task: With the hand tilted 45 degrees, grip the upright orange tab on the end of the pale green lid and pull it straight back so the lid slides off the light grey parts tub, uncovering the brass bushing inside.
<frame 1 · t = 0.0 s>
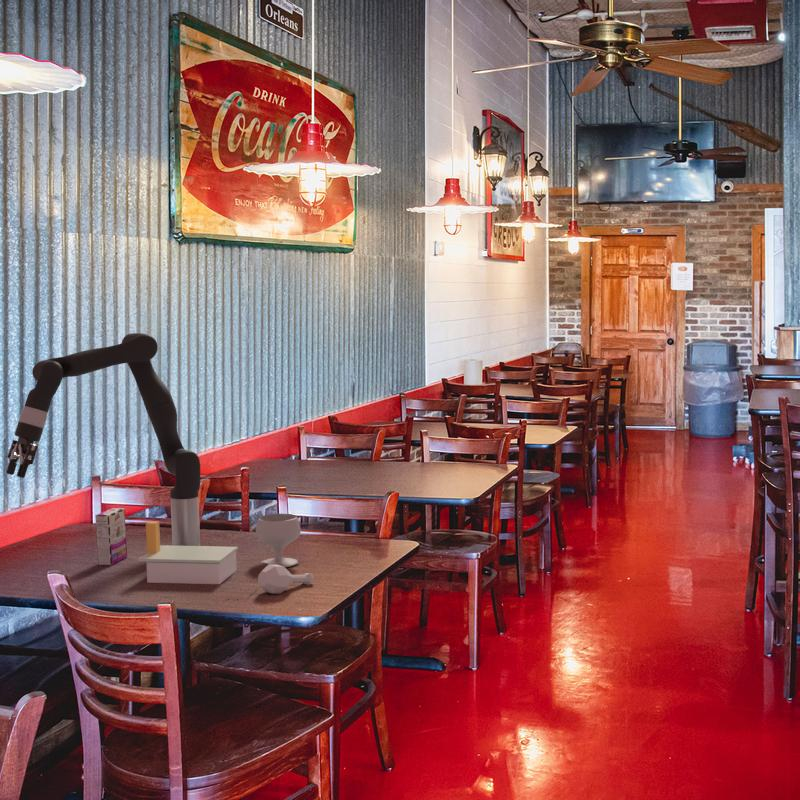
hand: (14, 475, 311), 31 cm above the table, tool tilted 20°, fingers open, 8 cm apart
tub: (193, 579, 309), on the table
chicken leg: (287, 590, 296), on the table
bushing: (200, 578, 306), point 1 cm above the table, touching tub
candy bar box: (112, 562, 333), on the table
lid: (188, 539, 308), point 12 cm above the table, slide at 0.0 cm
chalice: (279, 564, 325), on the table
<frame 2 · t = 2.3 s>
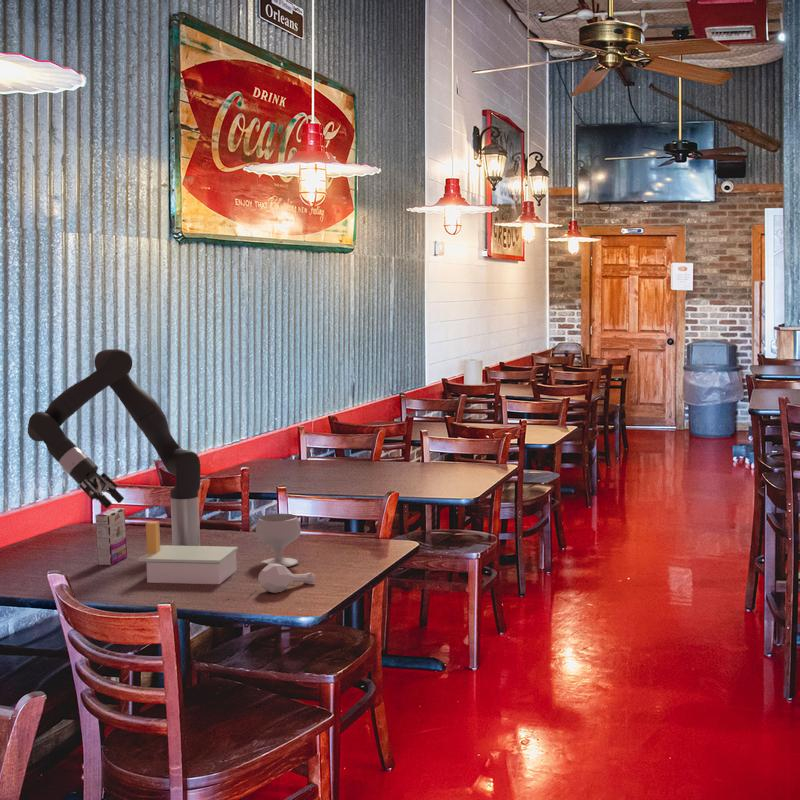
hand: (115, 503, 310), 23 cm above the table, tool tilted 45°, fingers open, 8 cm apart
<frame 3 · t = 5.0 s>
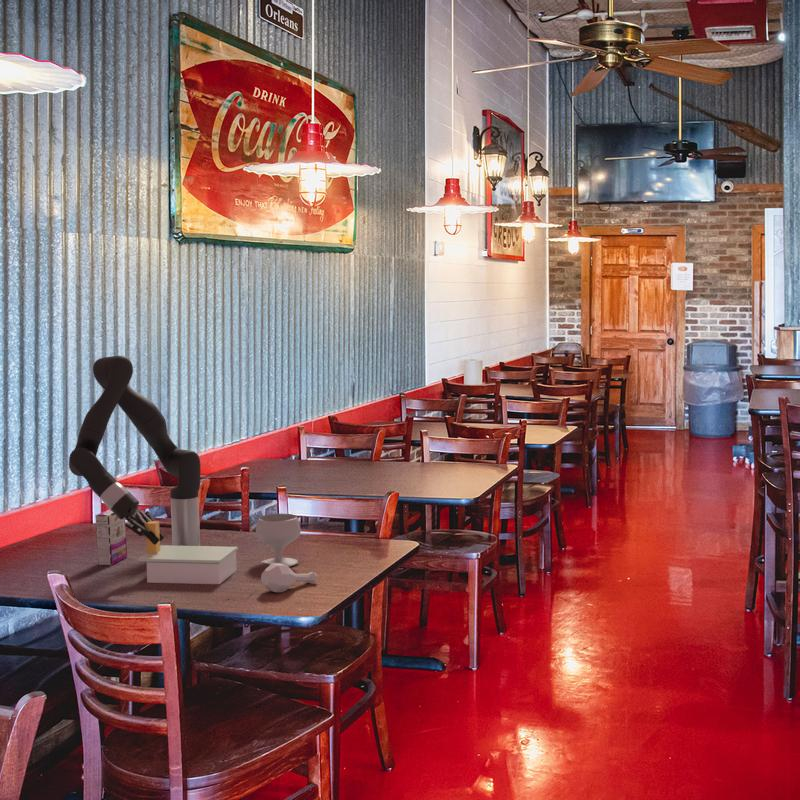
hand: (159, 540, 309), 11 cm above the table, tool tilted 45°, fingers closed on lid, 3 cm apart
lid: (188, 539, 308), point 12 cm above the table, slide at 0.0 cm, touching gripper
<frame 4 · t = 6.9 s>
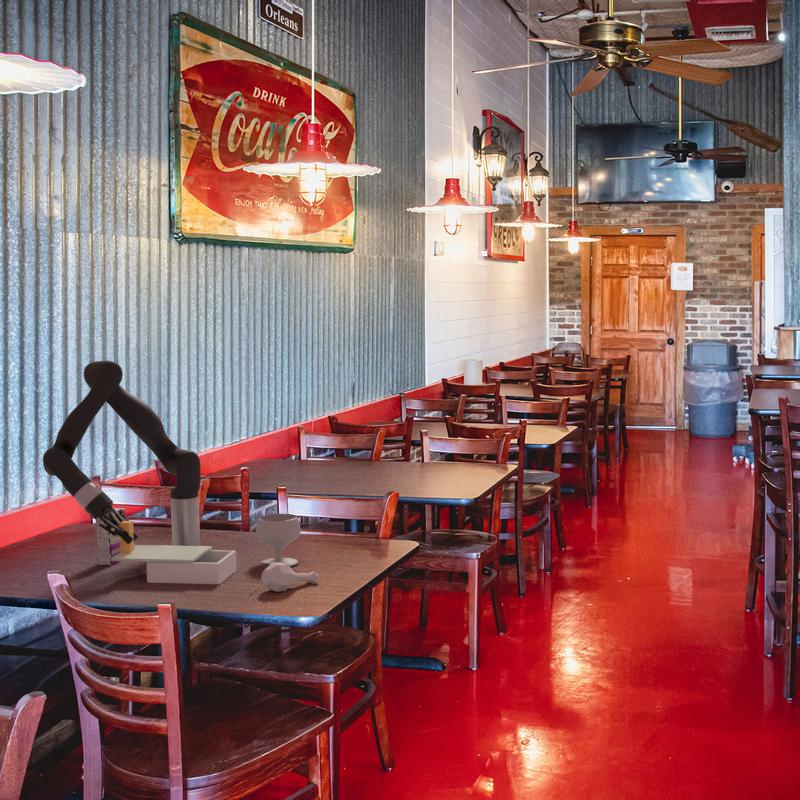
hand: (133, 540, 310), 11 cm above the table, tool tilted 45°, fingers closed on lid, 3 cm apart
lid: (161, 538, 309), point 12 cm above the table, slide at 8.3 cm, touching gripper
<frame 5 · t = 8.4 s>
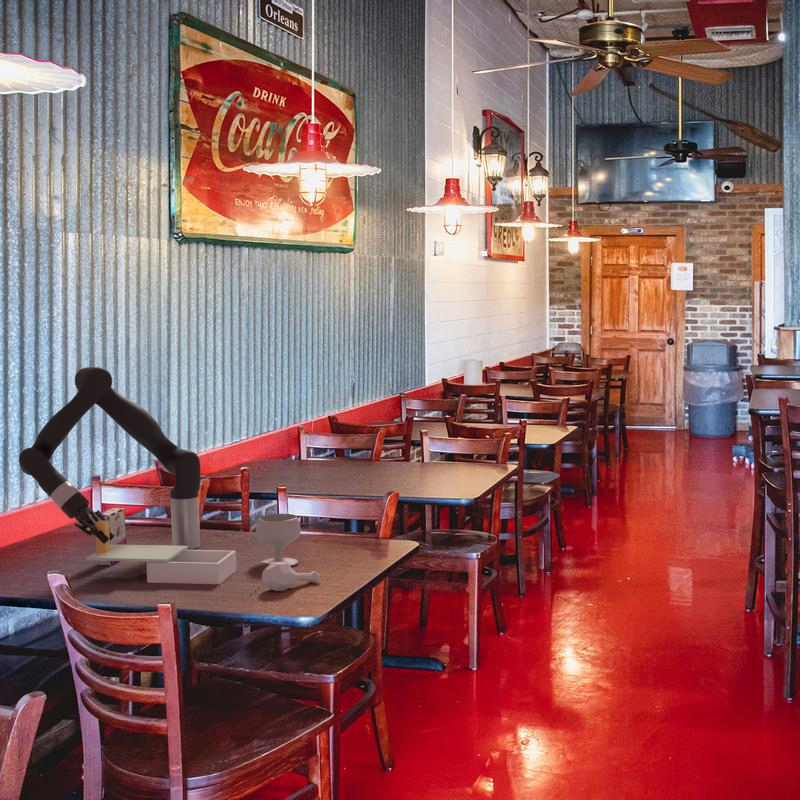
hand: (109, 540, 312), 11 cm above the table, tool tilted 45°, fingers closed on lid, 3 cm apart
lid: (137, 538, 310), point 12 cm above the table, slide at 15.9 cm, touching gripper
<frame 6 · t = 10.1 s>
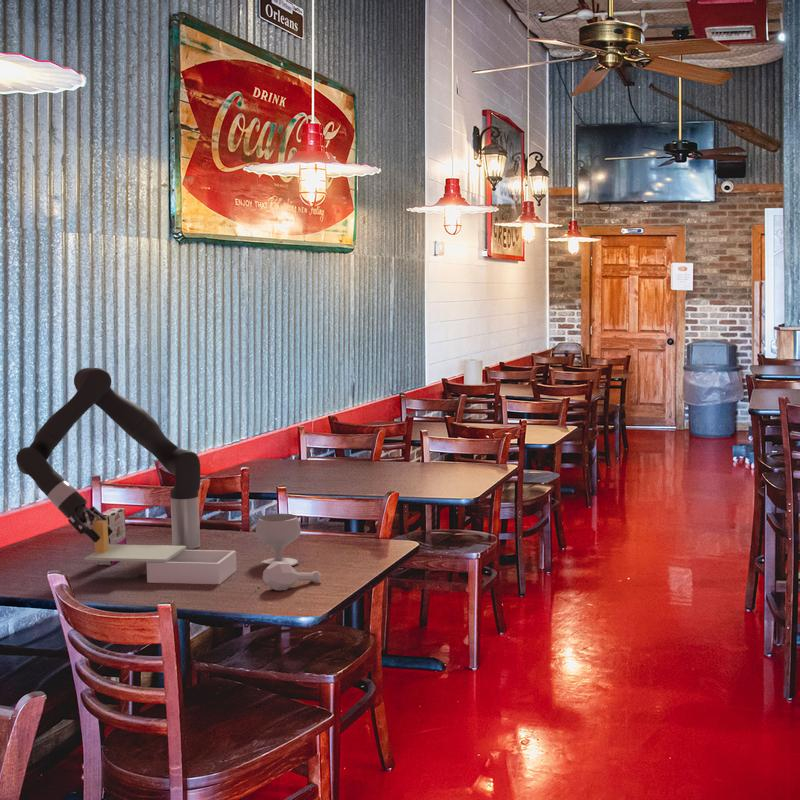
hand: (104, 537, 312), 12 cm above the table, tool tilted 45°, fingers open, 8 cm apart
lid: (135, 538, 310), point 12 cm above the table, slide at 16.5 cm
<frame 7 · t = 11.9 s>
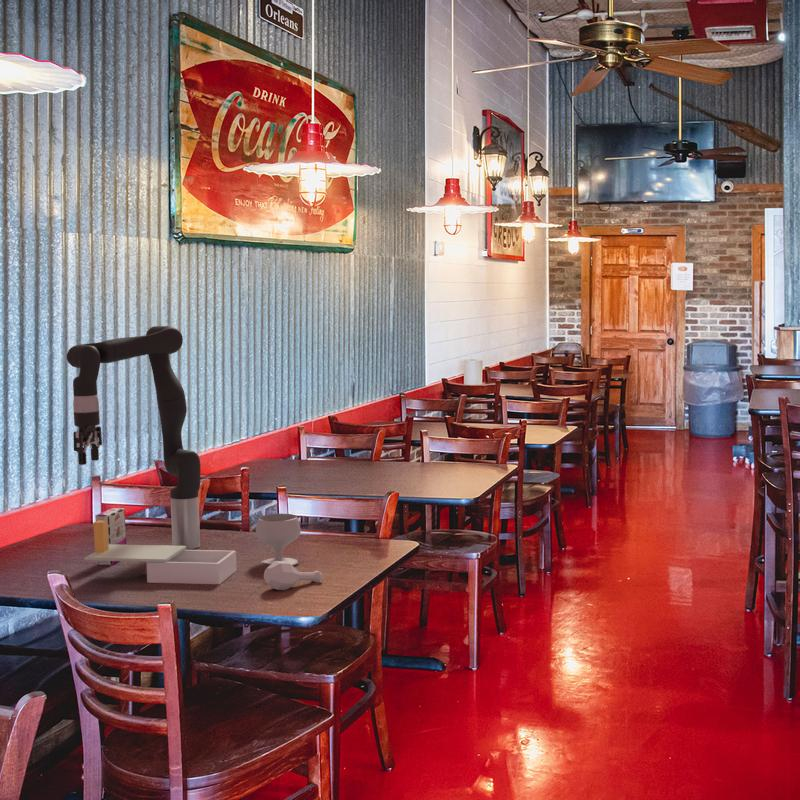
hand: (89, 462, 319), 34 cm above the table, tool pointing down, fingers open, 8 cm apart
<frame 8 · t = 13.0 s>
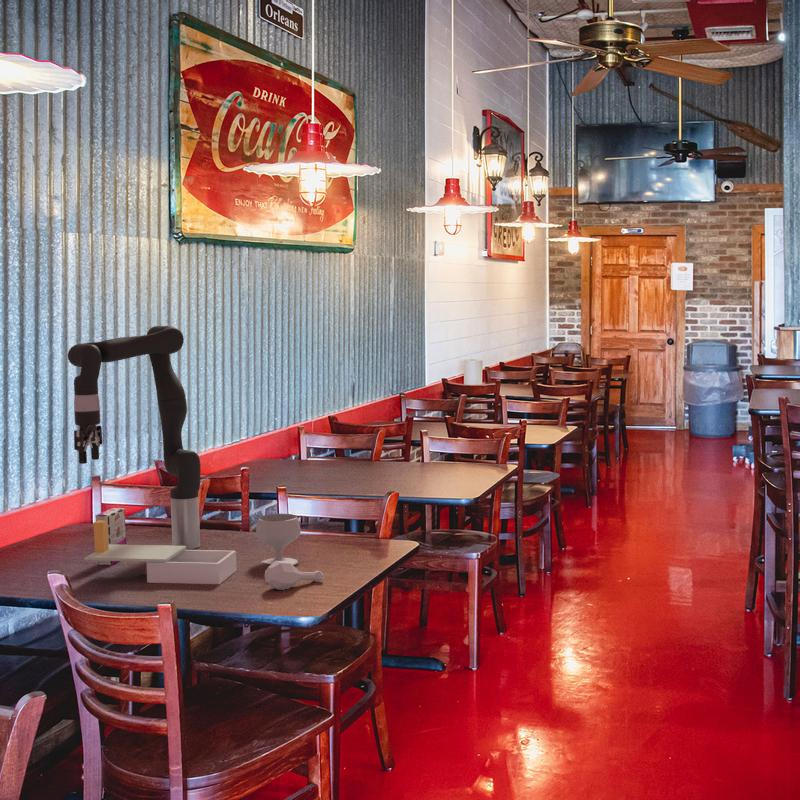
hand: (89, 461, 319), 34 cm above the table, tool pointing down, fingers open, 8 cm apart
at the end: lid slide at 16.5 cm; the gripper is holding nothing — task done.
